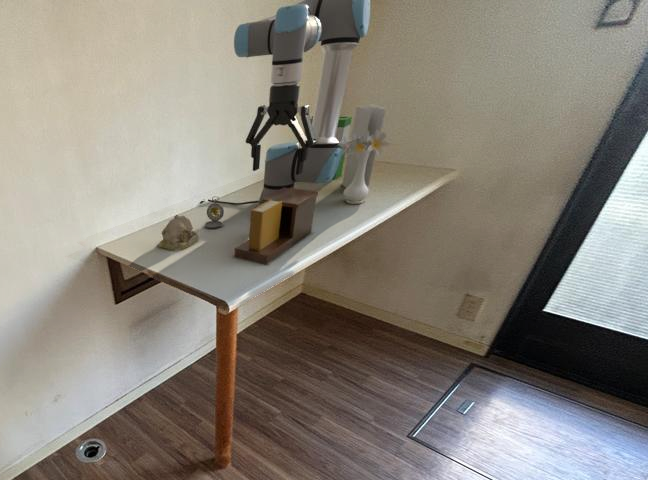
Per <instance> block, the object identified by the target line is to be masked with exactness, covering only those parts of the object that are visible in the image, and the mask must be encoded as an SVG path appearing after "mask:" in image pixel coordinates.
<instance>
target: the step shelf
mask: <svg viewBox="0 0 648 480" xmlns="http://www.w3.org/2000/svg"><path fill="white" fill-rule="evenodd" d="M318 194H319V191H315V190H307V189H299V188H294V189H292V188H282V189H280V190H278V191H276V192H274V193H273V194H271V195H269V196H267V197H265V198H263V199H262V203H263V204H264V203H265V202H267V201H269V200H271V199H272V201H277V202H280V201H282V210H281V219H280V229H279V238H278V239H276V240H275V241H273V242H272V243H270V244H269V245H267V246H266V247H264V248H263V249H261V250H260V251H258V250H254V249H249V239H247V240H244V241H243V242H242V243H241V244H239V245H237V246H236V247H234V258H238V259H242V260H246V261H250V262H254V263H259V264H263V265H265V266H266V265H268V264H270V263H271V262H273V261H274V260H276V259H277V258H278V257H280V256H281V255H283V254H284V253H285V252H287V251H288V250H290V249H291V248H292V247H294V246H295V245H296V244H298V243H299V242H301V241H302V240H303V239H305V238H307V237H308V236H309V235H311V233H312V229H313V222H314V215H315V209H316V202H317V197H318V196H319V195H318Z"/></svg>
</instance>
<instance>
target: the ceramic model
mask: <svg viewBox="0 0 648 480" xmlns="http://www.w3.org/2000/svg"><path fill="white" fill-rule="evenodd" d="M193 230H194V227H193V224H192V222H191V220H190V218H189V217H186V215H180V216H179V215H178V214H176V215H174V216H173V218H172V219H170V220H169V221H168V223H167V224H166V226H165V227H164V228H163V229H162V231H161V235H162V240H160V242H159V244H158V247H159V248H164V249H167V250H169V251H179V250H184V249H186V248H188V247H190V246H192V245H194V244H195V243H196V242H197V241H198V239H199V232H197V231H193Z"/></svg>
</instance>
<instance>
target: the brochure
mask: <svg viewBox="0 0 648 480" xmlns="http://www.w3.org/2000/svg"><path fill="white" fill-rule="evenodd" d="M386 112H387V108H386V107H382V106H378V105H376V104H373V103H370V104H369V106H367V105H366V106H365V105H356V109H355V115H354V119H353V123H352V124H353V125H352V130H351V134H350V135H351V136H350V139H351V138H352V135H353V133H355V134H356V137H355V138H357V137H361V136H362V135H364V133H365V132H366V131H369V136H371V135H374V136H375V137H376V130H378V131H379V135H380V134H381V133H382V128H383V125H384V122H385V121H384V120H385V116H386ZM369 136H368V137H369ZM371 144H372V143H371ZM371 144H369V145H368V147H369V146H370V145H371ZM353 148H354V147H351V148H350V150H351V149H353ZM376 156H377V153H376V151H375V149H374V150H372V151H371V152H370V154H369V157H368V159H367V163H366V169H365V175H364V180H365V184H366V186H367V187H368V188H369V186H370V182H371V177H372V173H373V168H374V165H375V160H376ZM358 161H359V159H357V158H356V153H355V154H353V155H347V156H346V161H345V167H344V172H343V178H342V183H341V186H343V187H344V188H345V189H346V188H347V187H348V186H349V185H350V184H351V183H352V181H353V179H354V177H355V174H356V170H357V166H358Z"/></svg>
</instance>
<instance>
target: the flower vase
mask: <svg viewBox="0 0 648 480" xmlns="http://www.w3.org/2000/svg"><path fill="white" fill-rule="evenodd" d="M351 135H352V134H351ZM368 136H369V131H366V132H365V133H364V135H362V136H361V137H357V138H355V137H356V134H355V133H353V135H352V138H351V137H350V139H349V136H348V137H347V135H346V134H345V135H344V141H345V142H344V141H340V142H339V144H338V145H339V146H340V147H344V148H343V149H342V154H341V156H342V155H343V154H344V153H345V154H346V155H347V156H348V155H353V154H355V153H356V158H357V159H359V161H358V166H357V170H356V174H355V177H354V179H353V181H352V183H351V184H350V185H349V186H348V187H347V188H345V189H344V190H343V192H342V193H343V194H342V195H343V198H344V199H345V203H347V204H351V205H359V204H362V203H363V202H364V201H365V199H367V198H368V197H369V196H370V195H369V194H370V189H369V187H367V186H366V184H365V180H364V175H365V169H366V163H367V159H368V157H369V154H370V152H371V151H372V150H374V149H375V151H376V156H381V155H382V152H383V151H382V150H383V148H389V146H390V141H385V139H386V137H387V134H386V133H385V132H384V131H383V132H382V131H381V134H380V135H379V131H378V130H376V137H375V136H374V135H371V136H369V137H368ZM371 143H372V144H371ZM369 144H371V145H370V146H369V147H368V145H369ZM351 147H354V148H353V149H351V150H350V148H351Z"/></svg>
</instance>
